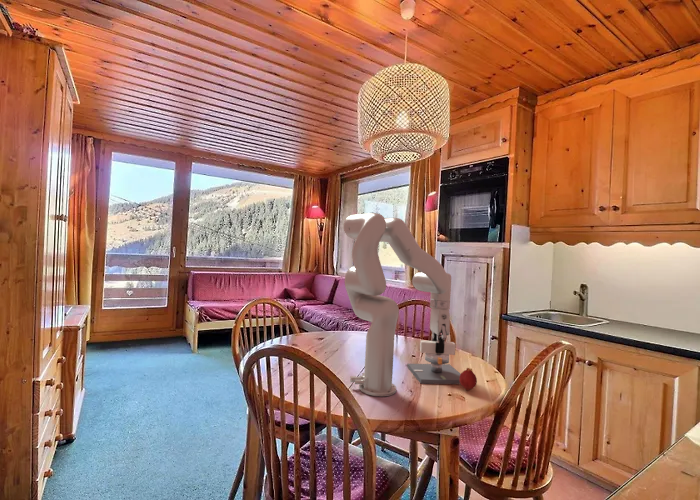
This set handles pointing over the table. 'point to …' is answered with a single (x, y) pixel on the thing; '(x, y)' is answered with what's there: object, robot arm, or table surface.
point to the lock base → (435, 373)
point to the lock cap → (434, 357)
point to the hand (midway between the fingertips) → (437, 350)
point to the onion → (468, 379)
